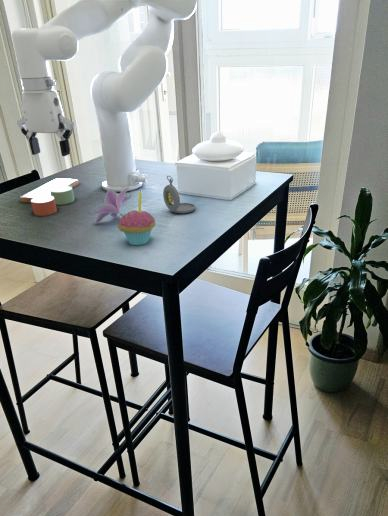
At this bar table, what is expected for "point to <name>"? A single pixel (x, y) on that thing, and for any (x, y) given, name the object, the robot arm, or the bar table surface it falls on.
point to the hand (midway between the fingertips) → (51, 154)
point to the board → (48, 188)
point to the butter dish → (216, 169)
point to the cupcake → (137, 225)
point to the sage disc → (62, 194)
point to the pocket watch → (175, 200)
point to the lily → (112, 204)
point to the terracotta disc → (43, 205)
